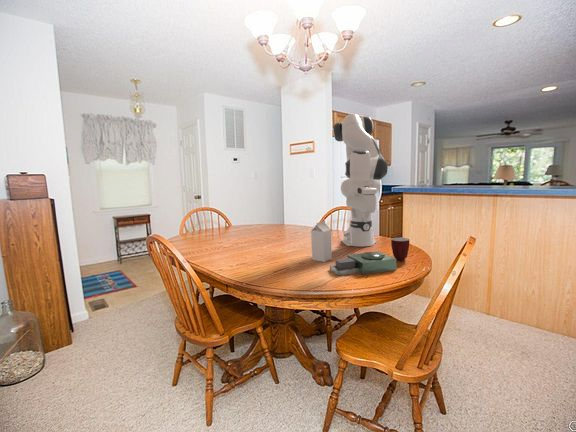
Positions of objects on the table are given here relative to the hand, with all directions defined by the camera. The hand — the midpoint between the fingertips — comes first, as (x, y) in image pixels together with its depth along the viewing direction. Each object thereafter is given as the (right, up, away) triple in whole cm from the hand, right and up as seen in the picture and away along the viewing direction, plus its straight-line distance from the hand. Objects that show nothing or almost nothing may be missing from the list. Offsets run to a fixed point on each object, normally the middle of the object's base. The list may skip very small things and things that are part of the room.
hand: (359, 219), depth 133 cm
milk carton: (-14, -20, +18) cm, 31 cm away
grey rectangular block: (-6, -23, -1) cm, 23 cm away
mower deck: (+1, -22, +1) cm, 22 cm away
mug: (+22, -20, +11) cm, 31 cm away
